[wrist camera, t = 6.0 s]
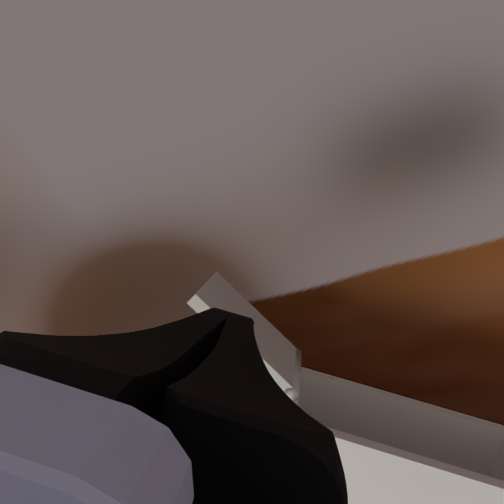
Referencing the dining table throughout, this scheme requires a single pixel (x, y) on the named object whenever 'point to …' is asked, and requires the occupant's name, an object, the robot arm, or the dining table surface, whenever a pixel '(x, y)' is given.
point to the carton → (405, 445)
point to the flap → (255, 332)
